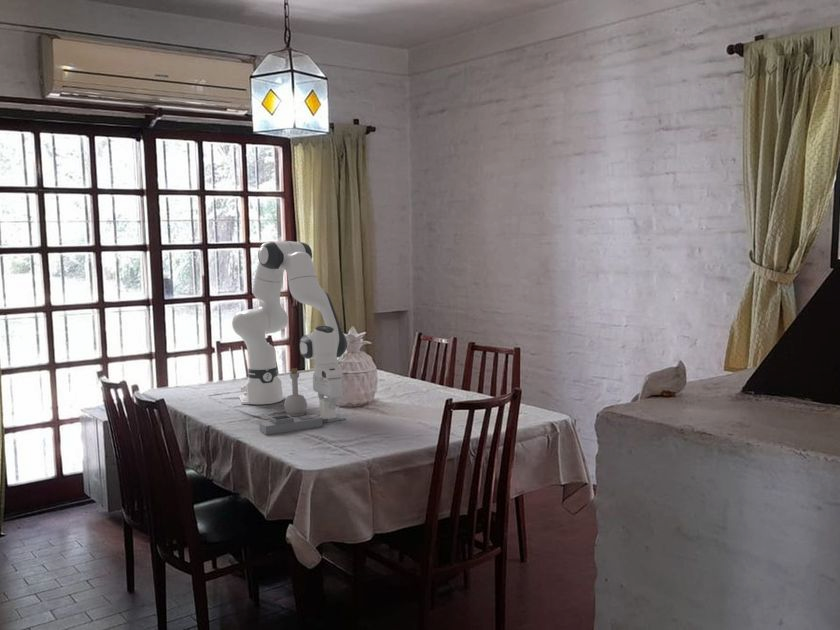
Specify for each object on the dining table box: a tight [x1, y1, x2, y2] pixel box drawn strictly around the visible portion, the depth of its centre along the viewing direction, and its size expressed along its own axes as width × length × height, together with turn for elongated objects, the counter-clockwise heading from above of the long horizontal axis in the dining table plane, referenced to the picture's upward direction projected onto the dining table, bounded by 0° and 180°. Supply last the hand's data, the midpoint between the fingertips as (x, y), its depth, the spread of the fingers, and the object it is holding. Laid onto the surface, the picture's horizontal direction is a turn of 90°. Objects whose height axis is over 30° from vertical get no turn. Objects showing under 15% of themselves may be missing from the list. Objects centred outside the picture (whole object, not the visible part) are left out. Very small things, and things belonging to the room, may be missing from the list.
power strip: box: [259, 414, 328, 436], centre depth 282 cm, size 7×25×4 cm, turn 119°
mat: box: [318, 413, 347, 424], centre depth 294 cm, size 10×10×1 cm
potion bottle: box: [283, 367, 308, 417], centre depth 303 cm, size 9×9×18 cm
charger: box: [318, 397, 337, 419], centre depth 294 cm, size 4×4×7 cm
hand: (327, 406), depth 294 cm, fingers open, 8 cm apart
